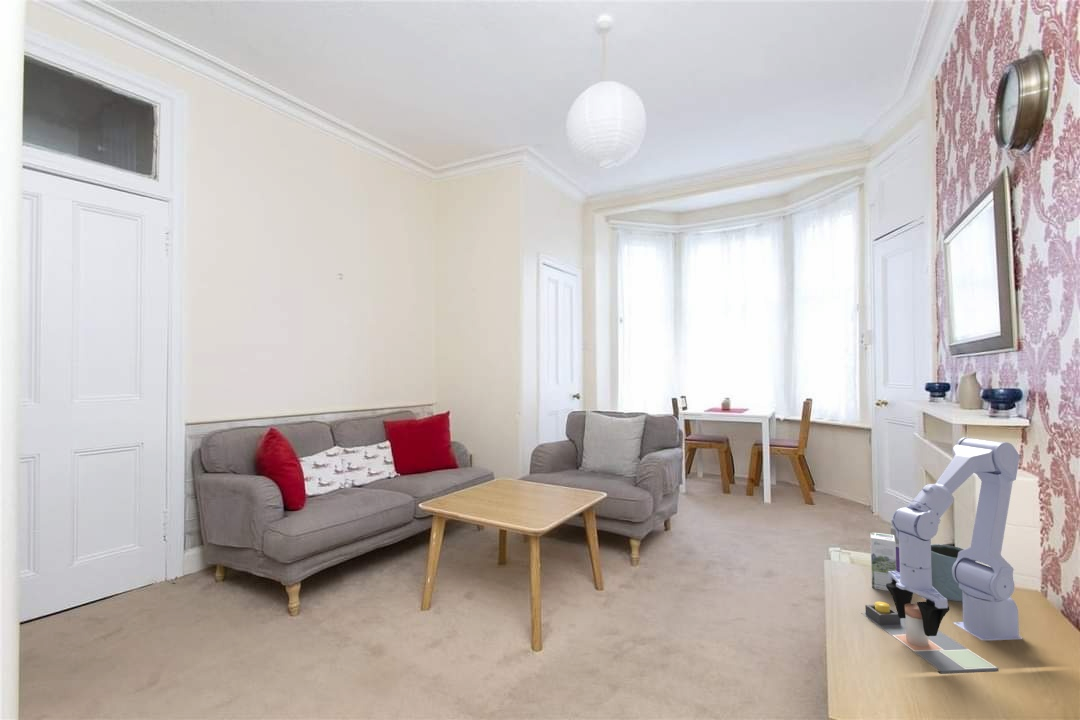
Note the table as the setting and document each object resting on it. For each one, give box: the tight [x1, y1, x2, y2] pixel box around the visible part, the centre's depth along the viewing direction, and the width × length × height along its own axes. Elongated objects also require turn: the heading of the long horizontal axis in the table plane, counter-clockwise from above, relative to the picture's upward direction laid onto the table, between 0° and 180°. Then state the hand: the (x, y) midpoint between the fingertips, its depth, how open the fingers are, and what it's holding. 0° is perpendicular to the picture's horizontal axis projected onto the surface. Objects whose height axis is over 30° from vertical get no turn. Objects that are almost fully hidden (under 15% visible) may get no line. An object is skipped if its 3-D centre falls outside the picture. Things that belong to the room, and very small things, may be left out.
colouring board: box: [860, 612, 999, 675], centre depth 115 cm, size 12×24×1 cm, turn 2°
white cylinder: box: [905, 602, 929, 647], centre depth 113 cm, size 4×4×8 cm
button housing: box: [864, 604, 901, 625], centre depth 123 cm, size 5×5×2 cm
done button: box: [874, 601, 891, 613], centre depth 123 cm, size 3×3×3 cm
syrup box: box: [869, 531, 896, 592], centre depth 141 cm, size 6×6×14 cm
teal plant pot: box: [931, 543, 965, 603], centre depth 136 cm, size 10×10×12 cm
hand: (916, 626), depth 113 cm, fingers open, 7 cm apart
